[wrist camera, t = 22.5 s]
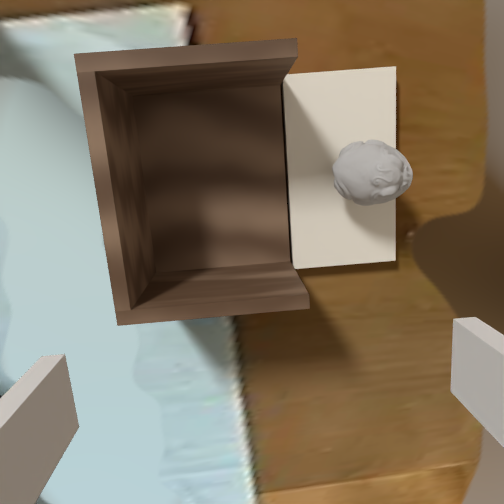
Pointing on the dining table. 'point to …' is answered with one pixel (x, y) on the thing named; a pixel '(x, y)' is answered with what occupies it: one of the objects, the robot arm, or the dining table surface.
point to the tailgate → (325, 155)
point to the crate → (192, 178)
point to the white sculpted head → (371, 173)
